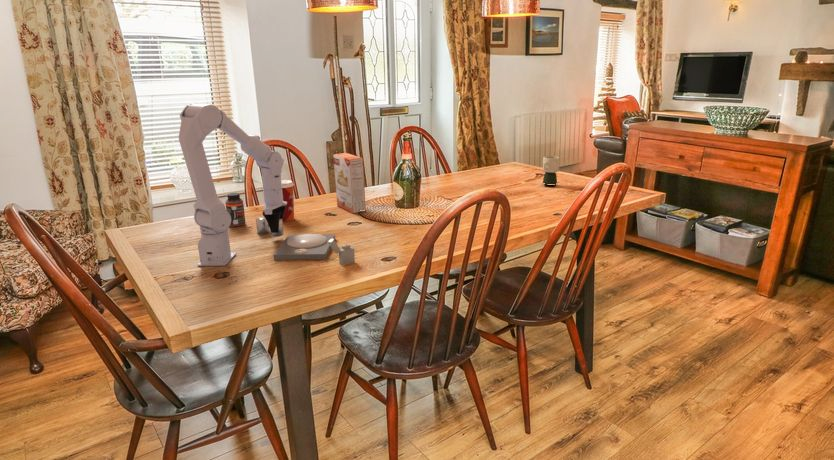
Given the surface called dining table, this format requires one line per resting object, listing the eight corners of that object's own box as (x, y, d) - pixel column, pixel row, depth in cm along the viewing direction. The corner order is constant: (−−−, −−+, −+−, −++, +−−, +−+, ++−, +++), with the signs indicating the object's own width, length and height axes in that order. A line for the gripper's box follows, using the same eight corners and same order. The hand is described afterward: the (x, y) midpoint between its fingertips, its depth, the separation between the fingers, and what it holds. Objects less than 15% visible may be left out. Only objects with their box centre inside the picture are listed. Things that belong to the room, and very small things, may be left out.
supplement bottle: (240, 227, 181) (236, 196, 177) (224, 227, 182) (220, 195, 179) (249, 222, 186) (245, 192, 183) (233, 222, 188) (229, 191, 184)
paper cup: (298, 221, 188) (295, 183, 183) (276, 223, 185) (272, 185, 181) (295, 215, 195) (291, 178, 190) (274, 217, 192) (270, 180, 188)
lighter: (352, 260, 149) (350, 234, 147) (355, 262, 148) (353, 235, 145) (329, 266, 145) (327, 239, 143) (332, 267, 144) (330, 240, 142)
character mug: (549, 182, 239) (551, 154, 235) (563, 185, 234) (565, 156, 230) (535, 186, 232) (537, 157, 228) (549, 189, 227) (551, 159, 223)
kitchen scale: (325, 259, 150) (324, 252, 150) (273, 259, 151) (273, 252, 150) (335, 239, 168) (334, 232, 167) (288, 239, 168) (288, 233, 167)
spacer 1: (267, 234, 174) (266, 220, 172) (255, 234, 174) (254, 220, 172) (271, 230, 177) (269, 216, 176) (259, 230, 177) (257, 216, 176)
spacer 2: (281, 236, 165) (280, 221, 164) (269, 236, 165) (267, 221, 164) (284, 232, 169) (283, 218, 168) (272, 232, 169) (271, 218, 168)
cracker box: (336, 206, 206) (332, 153, 199) (349, 204, 209) (346, 152, 203) (352, 214, 195) (348, 158, 188) (366, 211, 198) (363, 157, 191)
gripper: (279, 194, 156) (283, 237, 160) (290, 183, 169) (294, 223, 174) (255, 194, 156) (260, 237, 160) (269, 183, 170) (273, 223, 174)
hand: (276, 230), depth 167 cm, fingers closed on spacer 2, 4 cm apart
